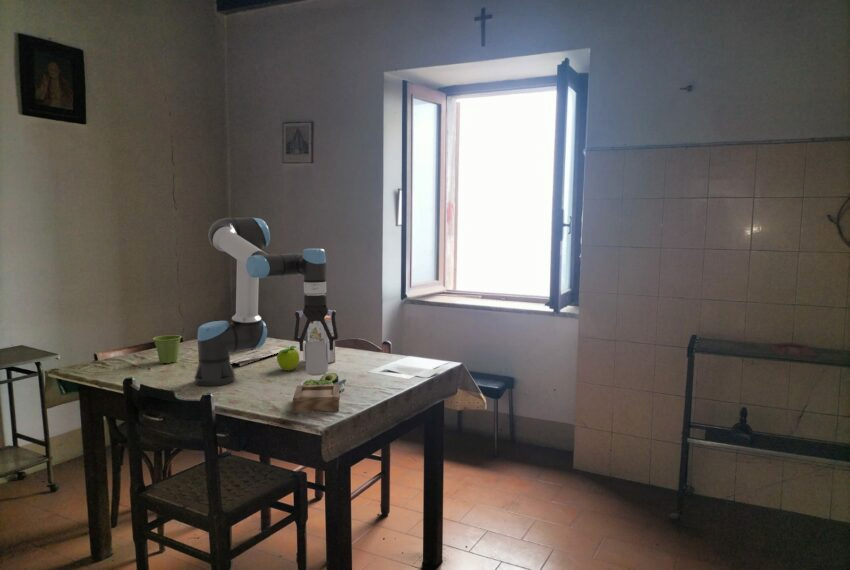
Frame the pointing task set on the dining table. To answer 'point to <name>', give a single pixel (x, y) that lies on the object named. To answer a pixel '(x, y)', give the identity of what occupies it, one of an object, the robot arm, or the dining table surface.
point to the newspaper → (256, 355)
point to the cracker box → (322, 333)
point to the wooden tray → (316, 398)
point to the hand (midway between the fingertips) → (316, 359)
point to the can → (316, 356)
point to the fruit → (288, 358)
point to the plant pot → (167, 348)
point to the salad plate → (326, 381)
